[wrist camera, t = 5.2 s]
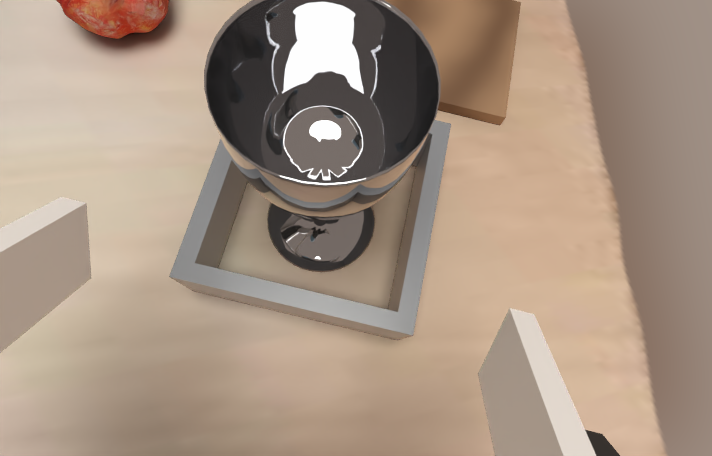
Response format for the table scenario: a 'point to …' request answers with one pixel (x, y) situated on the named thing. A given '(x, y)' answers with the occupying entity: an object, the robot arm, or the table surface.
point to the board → (469, 51)
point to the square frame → (398, 322)
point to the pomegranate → (116, 15)
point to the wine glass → (322, 115)
